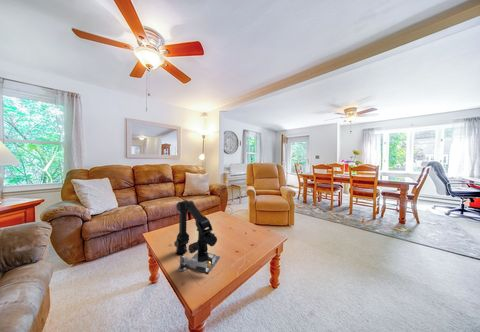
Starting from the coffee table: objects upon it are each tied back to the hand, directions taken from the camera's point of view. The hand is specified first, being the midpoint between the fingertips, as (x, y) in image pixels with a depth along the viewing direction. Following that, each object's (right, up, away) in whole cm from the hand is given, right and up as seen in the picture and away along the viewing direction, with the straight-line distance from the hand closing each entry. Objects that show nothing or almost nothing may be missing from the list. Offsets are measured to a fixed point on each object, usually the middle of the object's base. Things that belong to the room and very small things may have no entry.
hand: (202, 262), depth 99 cm
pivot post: (-13, -4, 0) cm, 14 cm away
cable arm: (-2, 0, -2) cm, 3 cm away
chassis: (-1, -4, +7) cm, 8 cm away
